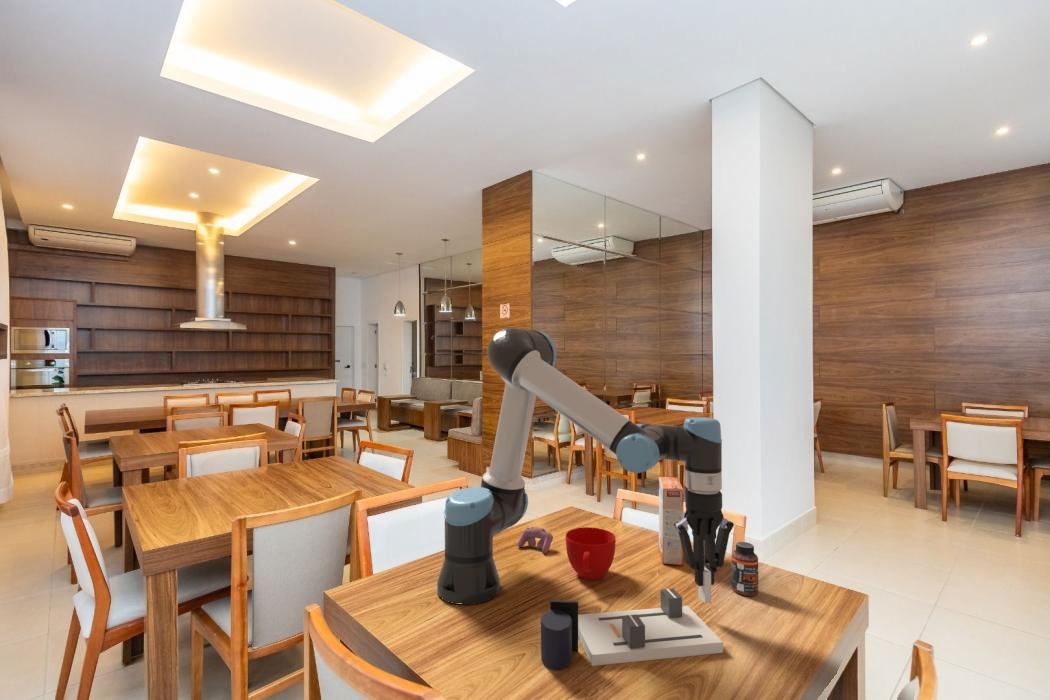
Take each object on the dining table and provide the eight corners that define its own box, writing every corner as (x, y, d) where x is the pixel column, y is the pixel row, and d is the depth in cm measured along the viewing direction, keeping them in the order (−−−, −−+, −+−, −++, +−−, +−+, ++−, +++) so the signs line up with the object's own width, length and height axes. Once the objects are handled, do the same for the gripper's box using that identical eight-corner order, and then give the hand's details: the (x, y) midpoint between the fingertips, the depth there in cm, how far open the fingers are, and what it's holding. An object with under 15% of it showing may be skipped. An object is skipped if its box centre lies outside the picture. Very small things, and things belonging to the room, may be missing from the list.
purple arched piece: (551, 556, 143) (556, 531, 146) (544, 554, 139) (549, 528, 142) (522, 549, 148) (527, 525, 151) (515, 547, 144) (520, 522, 147)
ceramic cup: (559, 589, 119) (559, 548, 119) (569, 561, 135) (569, 525, 135) (613, 596, 116) (613, 553, 116) (617, 566, 132) (616, 529, 132)
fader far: (668, 617, 102) (668, 598, 102) (660, 608, 106) (660, 589, 106) (682, 616, 102) (682, 597, 102) (673, 606, 106) (673, 588, 106)
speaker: (551, 642, 96) (551, 592, 95) (578, 651, 94) (579, 600, 93) (535, 668, 90) (535, 614, 89) (564, 678, 87) (565, 624, 86)
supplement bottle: (745, 599, 114) (744, 550, 114) (725, 588, 120) (725, 541, 120) (764, 594, 117) (763, 547, 117) (744, 584, 122) (744, 538, 122)
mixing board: (592, 665, 89) (592, 654, 89) (572, 624, 103) (572, 614, 103) (723, 652, 93) (723, 641, 93) (687, 614, 107) (687, 605, 107)
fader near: (629, 648, 91) (629, 626, 91) (622, 636, 95) (622, 615, 95) (645, 647, 91) (645, 625, 92) (636, 634, 96) (636, 613, 96)
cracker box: (684, 566, 132) (684, 489, 132) (661, 564, 133) (661, 487, 134) (679, 547, 146) (678, 476, 146) (658, 545, 147) (658, 475, 147)
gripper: (683, 496, 101) (684, 611, 100) (741, 492, 103) (743, 605, 102) (667, 486, 108) (668, 594, 108) (721, 484, 110) (723, 589, 110)
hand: (704, 599), depth 105 cm, fingers closed
